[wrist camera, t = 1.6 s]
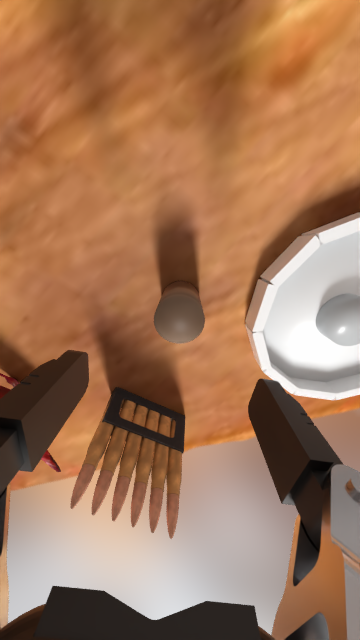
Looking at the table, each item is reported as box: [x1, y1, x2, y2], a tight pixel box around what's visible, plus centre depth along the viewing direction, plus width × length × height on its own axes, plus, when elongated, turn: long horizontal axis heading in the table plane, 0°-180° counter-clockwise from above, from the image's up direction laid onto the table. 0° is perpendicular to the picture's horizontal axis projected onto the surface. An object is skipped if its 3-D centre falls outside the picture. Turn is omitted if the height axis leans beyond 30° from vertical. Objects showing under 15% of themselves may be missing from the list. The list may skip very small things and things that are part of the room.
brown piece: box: [154, 281, 205, 343], centre depth 18 cm, size 4×4×6 cm
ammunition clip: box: [71, 387, 185, 539], centre depth 21 cm, size 11×2×12 cm, turn 61°
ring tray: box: [245, 212, 360, 400], centre depth 19 cm, size 19×19×2 cm
